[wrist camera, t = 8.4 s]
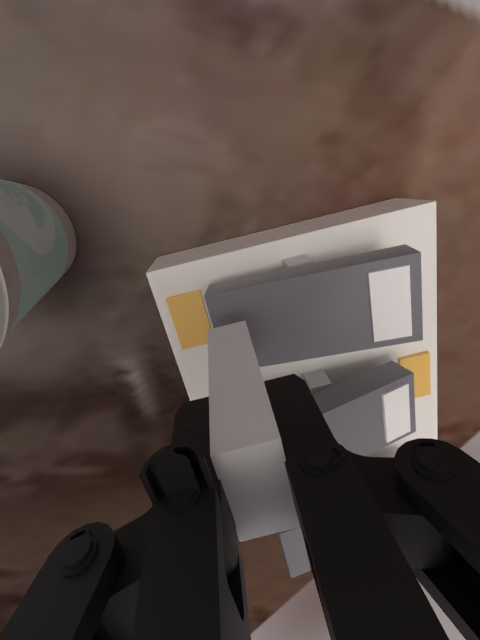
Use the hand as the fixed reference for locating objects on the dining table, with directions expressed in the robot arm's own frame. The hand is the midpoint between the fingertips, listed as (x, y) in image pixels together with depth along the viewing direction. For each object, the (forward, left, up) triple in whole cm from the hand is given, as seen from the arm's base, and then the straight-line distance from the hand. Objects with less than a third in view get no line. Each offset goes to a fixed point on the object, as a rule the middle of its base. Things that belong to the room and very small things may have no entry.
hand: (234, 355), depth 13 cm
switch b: (+4, -7, -3) cm, 9 cm away
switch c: (+4, 0, -3) cm, 5 cm away
